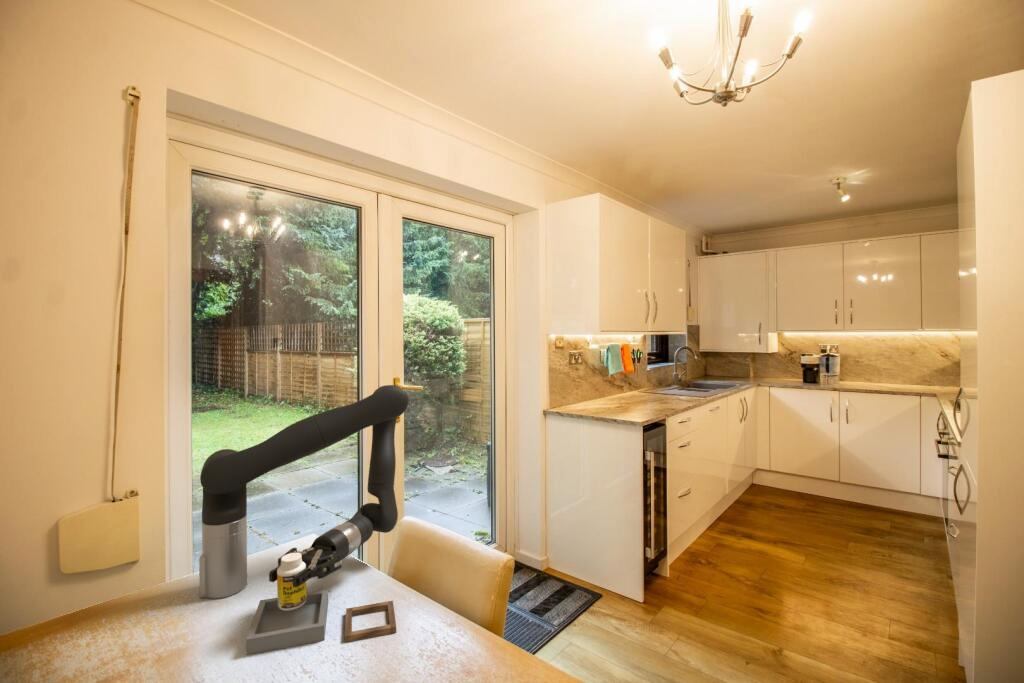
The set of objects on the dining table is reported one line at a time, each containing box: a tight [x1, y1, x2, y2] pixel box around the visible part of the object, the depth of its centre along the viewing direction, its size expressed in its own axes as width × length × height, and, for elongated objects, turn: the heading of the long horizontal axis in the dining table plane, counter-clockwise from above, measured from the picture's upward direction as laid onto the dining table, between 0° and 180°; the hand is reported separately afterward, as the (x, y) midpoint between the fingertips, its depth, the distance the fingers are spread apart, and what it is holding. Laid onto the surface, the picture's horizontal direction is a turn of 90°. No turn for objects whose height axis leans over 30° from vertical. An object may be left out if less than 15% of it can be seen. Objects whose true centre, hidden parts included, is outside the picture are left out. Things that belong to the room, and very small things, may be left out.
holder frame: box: [344, 600, 397, 643], centre depth 101 cm, size 10×10×1 cm
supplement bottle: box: [276, 553, 307, 611], centre depth 99 cm, size 6×6×10 cm
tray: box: [245, 589, 329, 656], centre depth 99 cm, size 14×14×3 cm
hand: (282, 579), depth 97 cm, fingers closed on supplement bottle, 5 cm apart
